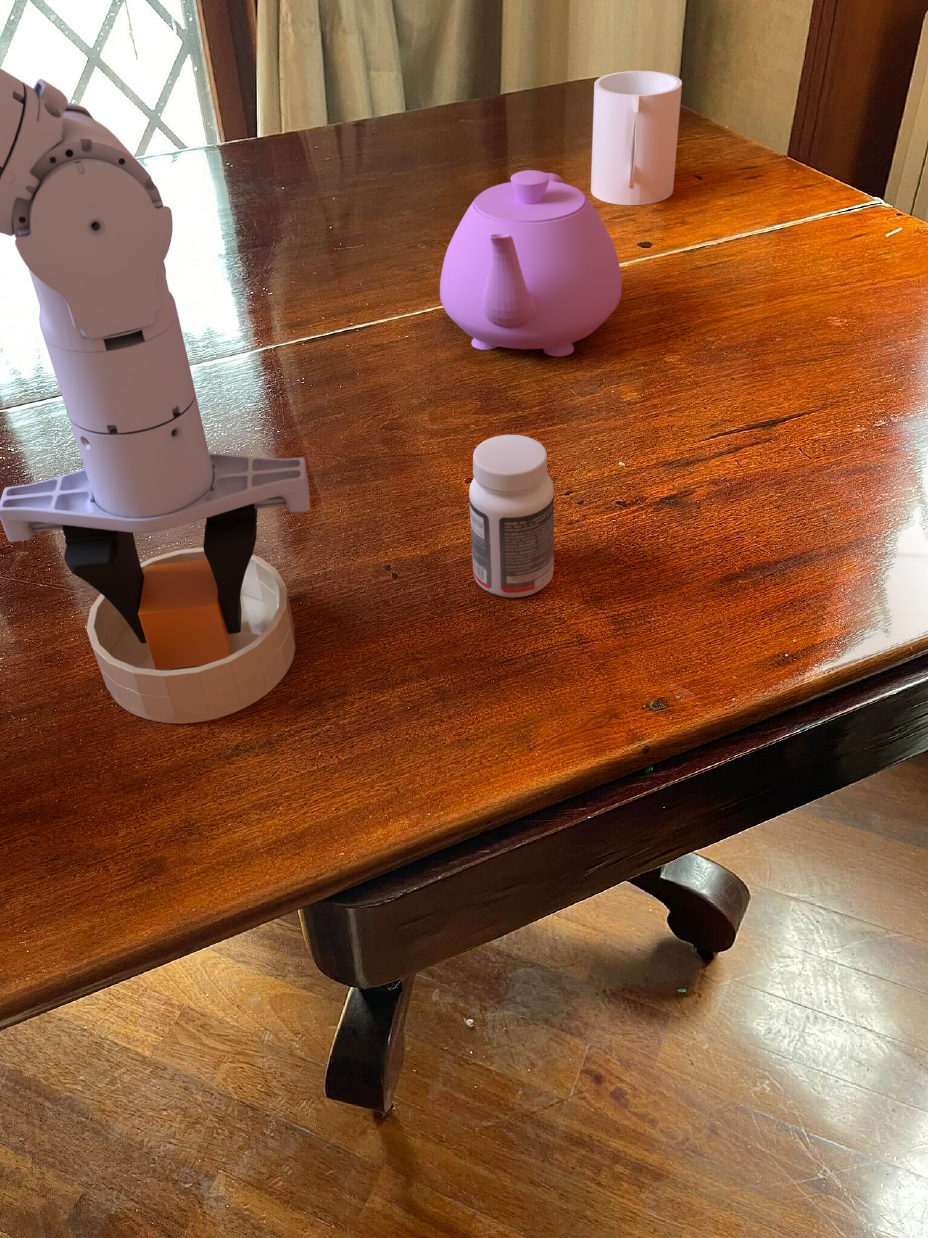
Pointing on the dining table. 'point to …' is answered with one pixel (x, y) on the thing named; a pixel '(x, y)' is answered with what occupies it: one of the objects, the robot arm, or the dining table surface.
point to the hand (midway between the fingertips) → (192, 626)
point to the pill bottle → (511, 516)
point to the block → (183, 615)
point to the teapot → (530, 267)
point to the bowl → (206, 687)
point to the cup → (635, 137)
